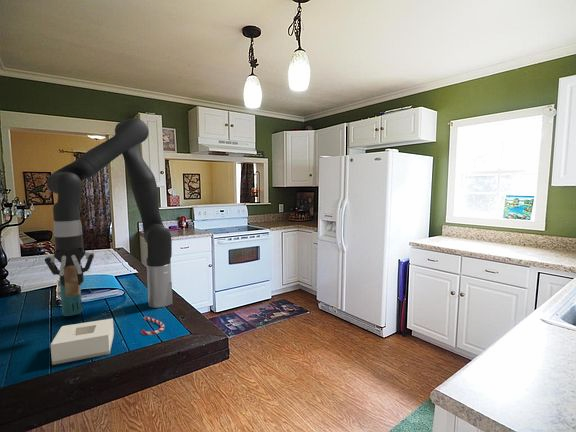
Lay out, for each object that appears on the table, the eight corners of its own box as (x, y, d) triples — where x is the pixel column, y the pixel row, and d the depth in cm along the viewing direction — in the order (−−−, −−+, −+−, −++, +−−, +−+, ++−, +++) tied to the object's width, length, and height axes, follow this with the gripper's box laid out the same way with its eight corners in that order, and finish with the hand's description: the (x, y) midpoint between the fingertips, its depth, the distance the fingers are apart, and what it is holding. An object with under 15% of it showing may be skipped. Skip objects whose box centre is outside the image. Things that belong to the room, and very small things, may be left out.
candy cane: (153, 313, 118) (168, 327, 107) (154, 317, 118) (168, 331, 107) (132, 319, 113) (144, 334, 102) (132, 323, 113) (145, 338, 102)
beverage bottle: (72, 320, 113) (68, 268, 111) (57, 319, 115) (53, 266, 112) (87, 313, 120) (83, 263, 117) (72, 312, 121) (69, 262, 119)
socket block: (113, 335, 103) (112, 318, 102) (109, 353, 92) (108, 334, 91) (63, 344, 97) (61, 326, 96) (52, 364, 86) (50, 344, 85)
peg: (80, 291, 105) (78, 263, 104) (78, 295, 102) (76, 265, 101) (68, 293, 103) (66, 264, 102) (65, 296, 100) (63, 266, 99)
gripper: (95, 230, 106) (99, 279, 108) (45, 233, 101) (50, 284, 103) (91, 234, 100) (95, 285, 102) (37, 237, 94) (42, 291, 96)
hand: (72, 284), depth 102 cm, fingers closed on peg, 3 cm apart
